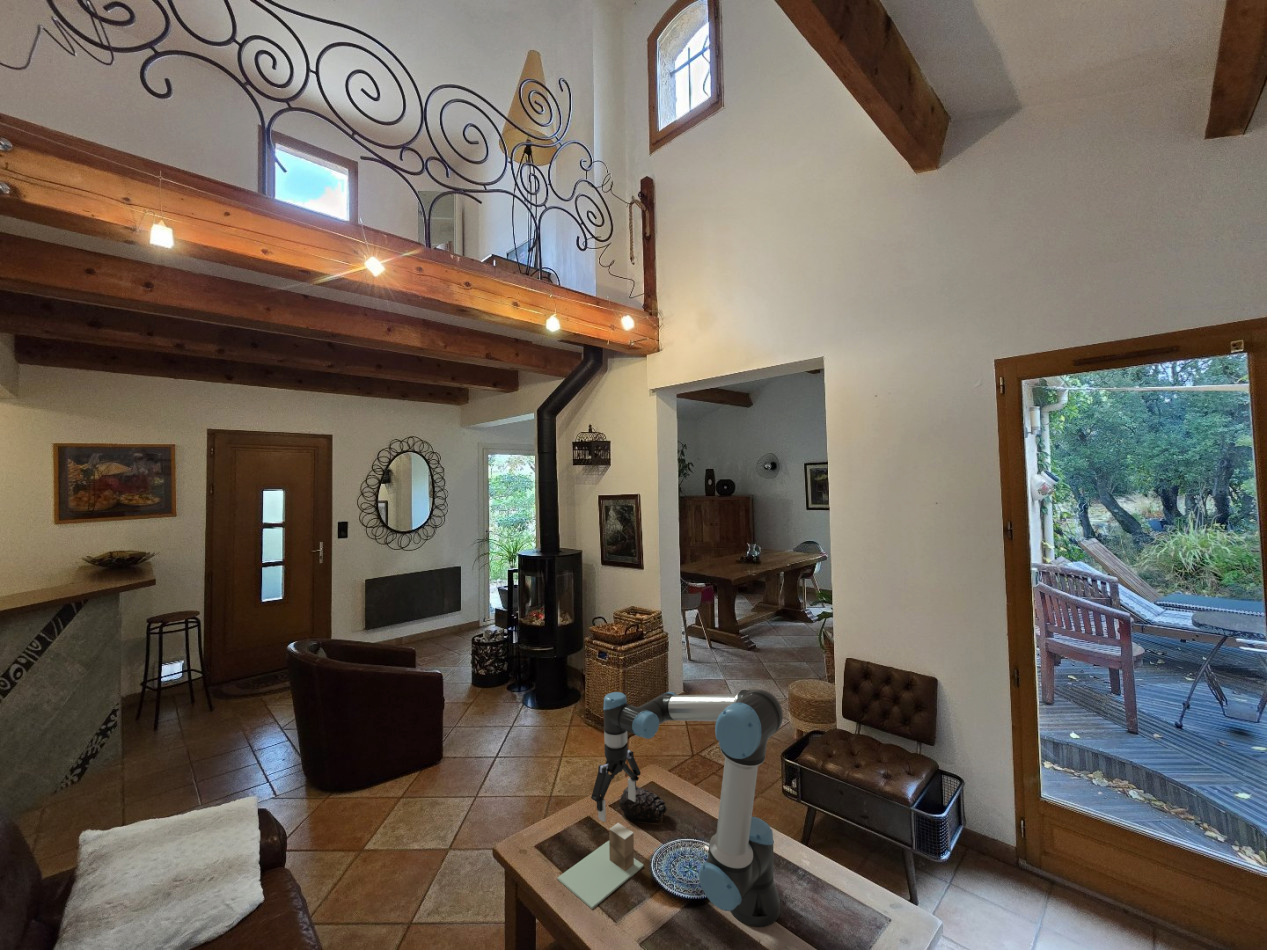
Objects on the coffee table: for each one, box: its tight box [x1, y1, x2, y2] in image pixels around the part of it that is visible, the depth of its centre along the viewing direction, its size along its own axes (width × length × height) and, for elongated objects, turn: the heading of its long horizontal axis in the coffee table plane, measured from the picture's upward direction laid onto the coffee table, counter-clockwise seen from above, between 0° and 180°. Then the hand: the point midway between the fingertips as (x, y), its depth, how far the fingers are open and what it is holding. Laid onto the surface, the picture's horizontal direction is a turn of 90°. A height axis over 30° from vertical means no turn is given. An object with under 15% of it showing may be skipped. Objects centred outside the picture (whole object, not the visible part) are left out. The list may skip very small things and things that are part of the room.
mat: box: [556, 840, 644, 910], centre depth 158 cm, size 16×22×1 cm
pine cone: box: [618, 785, 668, 825], centre depth 185 cm, size 10×18×10 cm, turn 79°
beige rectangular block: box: [608, 822, 635, 871], centre depth 161 cm, size 7×4×10 cm, turn 47°
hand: (617, 809), depth 163 cm, fingers open, 13 cm apart
